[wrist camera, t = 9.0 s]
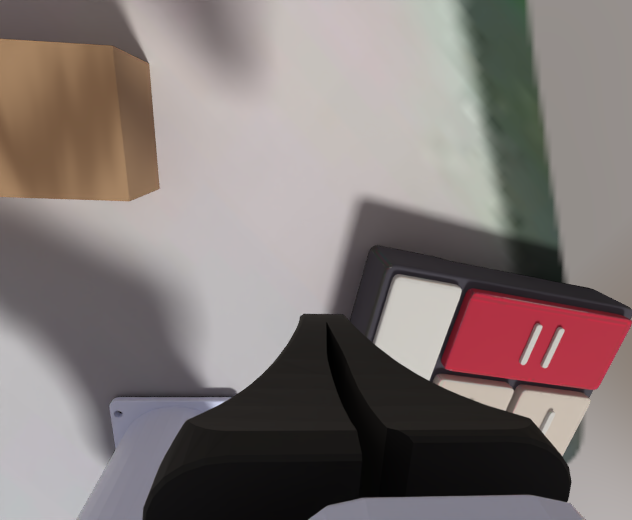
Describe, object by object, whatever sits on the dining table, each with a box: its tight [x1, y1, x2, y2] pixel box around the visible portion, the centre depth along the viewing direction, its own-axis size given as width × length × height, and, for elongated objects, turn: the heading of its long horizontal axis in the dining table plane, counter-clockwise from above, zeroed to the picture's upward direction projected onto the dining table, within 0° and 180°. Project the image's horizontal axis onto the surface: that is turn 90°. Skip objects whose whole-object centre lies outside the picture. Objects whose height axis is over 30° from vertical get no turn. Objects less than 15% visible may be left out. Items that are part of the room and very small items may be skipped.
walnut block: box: [0, 39, 159, 201], centre depth 17 cm, size 6×4×10 cm
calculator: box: [350, 246, 632, 455], centre depth 23 cm, size 11×4×15 cm
